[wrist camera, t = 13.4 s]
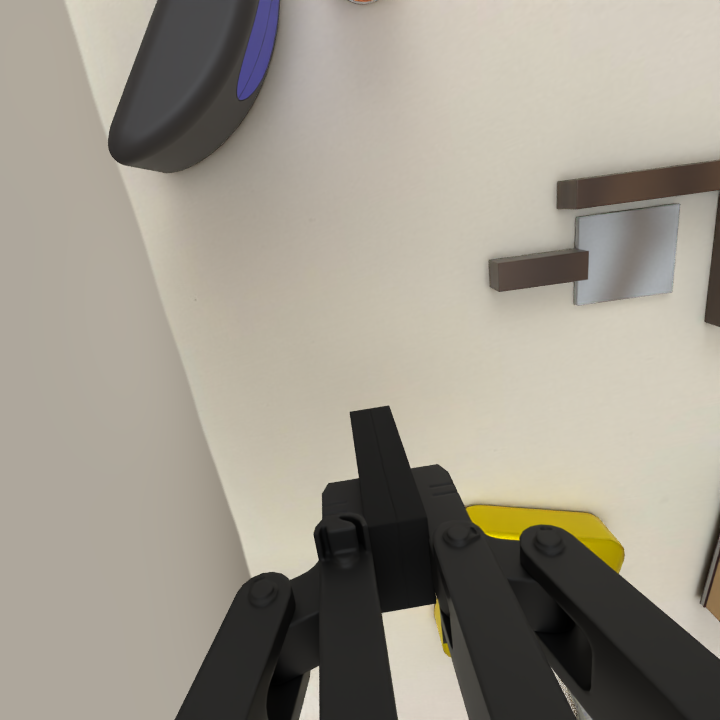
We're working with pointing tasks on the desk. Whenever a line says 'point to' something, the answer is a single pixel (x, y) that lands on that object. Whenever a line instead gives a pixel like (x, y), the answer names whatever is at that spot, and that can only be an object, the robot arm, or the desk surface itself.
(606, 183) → the corner stop
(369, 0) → the pill bottle
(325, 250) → the desk surface
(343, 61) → the desk surface
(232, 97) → the leaning round-cornered charcoal block
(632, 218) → the spatula
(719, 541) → the book
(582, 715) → the caliper
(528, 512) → the element tile
